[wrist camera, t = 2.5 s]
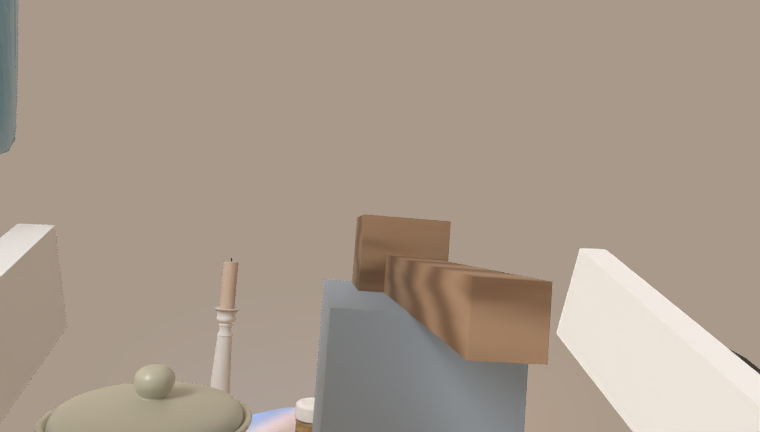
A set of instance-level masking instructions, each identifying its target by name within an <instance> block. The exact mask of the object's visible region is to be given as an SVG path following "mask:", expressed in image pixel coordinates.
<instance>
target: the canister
mask: <svg viewBox="0 0 760 432" xmlns="http://www.w3.org/2000/svg"><path fill="white" fill-rule="evenodd" d="M251 421H252V414H251V411H250V410H249V408H248V407H247V406H246V405H245V404H243V403H242V402H240V401H238V400H237V399H235V398H234V397H233V396H231V395H230V394H228V393H226V392H224V391H222V390H219V389H216V388H213V387H209V386H205V385H200V384H194V383H185V382H175V374H174V372H173V370H172V369H171V368H170V367H168V366H166V365H162V364H151V365H147V366H144V367H143V368H141V369H140V370H139V371H138V372H137V373H136V375H135V377H134V383H128V384H121V385H115V386H109V387H104V388H100V389H96V390H93V391H89V392H86V393H84V394H81V395H78V396H76V397H74V398H72V399H70V400H68V401H66V402H65V403H63V404H62V405H60V406H59V407H57V408H55V409H53V410H51V411H49V412H48V413H46V414H45V415H43V416H42V417H41V418H40V419H39V420H38V422H37V423H36V425H35V429H34V432H245V431H246V430H247V429H248V427H249V426H250V424H251Z"/></svg>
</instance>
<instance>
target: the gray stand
mask: <svg viewBox="0 0 760 432" xmlns="http://www.w3.org/2000/svg"><path fill="white" fill-rule="evenodd" d="M527 373H528V364H525V363H505V362H484V361H467V360H466V359H465V358H463V357H462V356H461V355H460V354H459V353H457V352H456V351H455V350H454V349H452V348H451V347H450V346H449V345H448V344H446V343H445V342H444V341H443V340H441V339H440V338H439V337H438V336H436V335H435V334H434V333H433V332H432V331H430V330H429V329H428V328H427V327H425V326H424V325H423V324H422V323H421V322H419V321H418V320H417V319H416V318H414V317H413V316H412V315H411V314H410V313H408V312H407V311H406V310H405V309H403V308H402V307H401V306H400V305H398V304H397V303H396V302H395V301H394V300H392V299H391V298H390V297H389V296H387V295H386V294H385V293H384V292H369V291H358V290H357V288H356V287H355V286H354V285H353V283H352V281H341V280H326V279H324V288H323V301H322V313H321V327H320V339H319V351H318V363H317V376H316V388H315V401H314V414H313V426H312V432H524V423H525V406H526V390H527Z"/></svg>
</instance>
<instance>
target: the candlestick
mask: <svg viewBox="0 0 760 432" xmlns="http://www.w3.org/2000/svg"><path fill="white" fill-rule="evenodd" d="M237 271H238V262H233V261H232V258H231V261H224V268H223V279H222V290H221V302H220V307H214V309H215V310H216V311H217V313H218V315H217V321H218V322H219V326H220V330H219V332H218V334H217V343H216V350H215V357H214V364H213V371H212V378H211V385H210V387H213V388H216V389H219V390H222V391H224V392H226V393H228V394H230V370H231V344H232V333H231V326H232V323H233V322H234V321H235V320H236V317H235V314H236V312H237V311H238V310H239V308H236V307H234V306H235V294H236V283H237Z"/></svg>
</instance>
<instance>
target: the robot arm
mask: <svg viewBox="0 0 760 432" xmlns="http://www.w3.org/2000/svg"><path fill="white" fill-rule="evenodd" d="M17 72H18V0H0V154H2V153H5V152H7V151H9V149H10V147H11V145H12V144H13V142H14V141H15V132H16V107H17V75H18V73H17ZM58 256H59V255H58V247H57V239H56V231H55V225H38V224H37V225H35V224H17V225H16V226H15V227H13V228H12V229H11V230H9V231H8V232H7V233H6V234H5V235H3V236H2V237H1V238H0V424H1V422H2V421H3V419H4V418H5V416H6V415H7V413H8V412H9V411H10V409H11V408H12V406H13V405H14V403H15V402H16V400H17V399H18V398H19V396H20V395H21V393H22V392H23V390H24V389H25V388H26V386H27V385H28V383H29V382H30V380H31V379H32V377H33V376H34V375H35V373H36V372H37V370H38V369H39V367H40V366H41V364H42V363H43V362H44V360H45V358H46V357H47V356H48V354H49V353H50V351H51V350H52V348H53V347H54V345H55V344H56V343H57V341H58V340H59V338H60V337H61V336H62V334H63V333H64V331H65V330H66V328H67V322H66V314H65V306H64V297H63V290H62V281H61V272H60V264H59V257H58ZM557 335H558V336H559V337H560V339H561V340H562V341H563V342H564V344H565V345H566V346H567V348H568V349H569V350H570V352H571V353H572V354H573V355H574V357H575V358H576V359H577V361H578V362H579V363H580V364H581V366H582V367H583V368H584V370H585V371H586V372H587V373H588V375H589V376H590V377H591V379H592V380H593V381H594V382H595V384H596V385H597V386H598V387H599V389H600V390H601V391H602V393H603V394H604V395H605V396H606V398H607V399H608V400H609V402H610V403H611V404H612V405H613V407H614V408H615V409H616V411H617V412H618V413H619V414H620V416H621V417H622V418H623V420H624V421H625V422H626V424H627V425H628V426H629V427H630V429H631V430H632V431H633V432H760V369H758V368H757V367H756V366H755V365H754V364H752V363H751V362H750V361H748V360H747V359H746V358H744V357H743V356H741V355H739V354H737V353H735V352H734V351H731V350H730V349H728V348H726V347H725V346H724V345H723V344H722V343H720V342H719V341H718V340H717V339H716V338H714V337H713V336H712V335H711V334H709V333H708V332H707V331H706V330H704V329H703V328H702V327H701V326H700V325H698V324H697V323H696V322H695V321H693V320H692V319H691V318H690V317H688V316H687V315H686V314H685V313H683V312H682V311H681V310H680V309H678V308H677V307H676V306H675V305H674V304H672V303H671V302H670V301H669V300H667V299H666V298H665V297H664V296H663V295H661V294H660V293H659V292H658V291H656V290H655V289H654V288H653V287H651V286H650V285H649V284H648V283H646V282H645V281H644V280H643V279H641V278H640V277H639V276H638V275H637V274H635V273H634V272H633V271H632V270H630V269H629V268H628V267H627V266H625V265H624V264H623V263H622V262H621V261H619V260H618V259H617V258H616V257H614V256H613V255H612V254H611V253H609V252H608V251H607V250H606V249H587V248H586V249H585V248H580V250H579V254H578V258H577V261H576V265H575V268H574V272H573V276H572V279H571V283H570V287H569V290H568V294H567V297H566V301H565V304H564V308H563V311H562V315H561V319H560V322H559V326H558V330H557Z"/></svg>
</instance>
